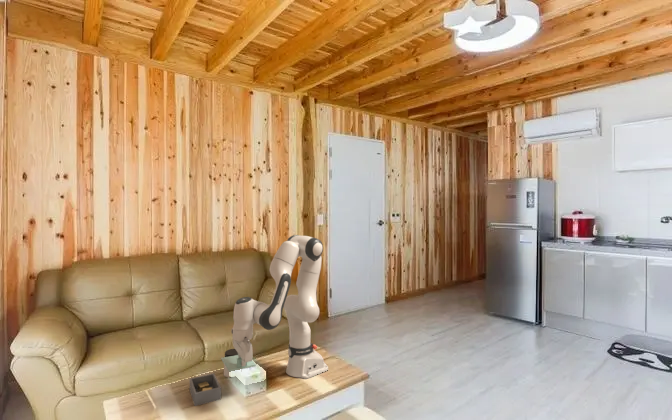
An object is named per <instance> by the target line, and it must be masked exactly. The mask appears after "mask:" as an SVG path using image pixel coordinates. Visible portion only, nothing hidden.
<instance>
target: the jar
mask: <svg viewBox="0 0 672 420" xmlns="http://www.w3.org/2000/svg"><path fill="white" fill-rule="evenodd" d="M235 355H238V352H237V351H236V350H235V348H229V349H227V350H225V352H224V357H229V356H235ZM223 377H227V378H229V370H228V369H227V367H226V366H225V364H224V363H223Z"/></svg>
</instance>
